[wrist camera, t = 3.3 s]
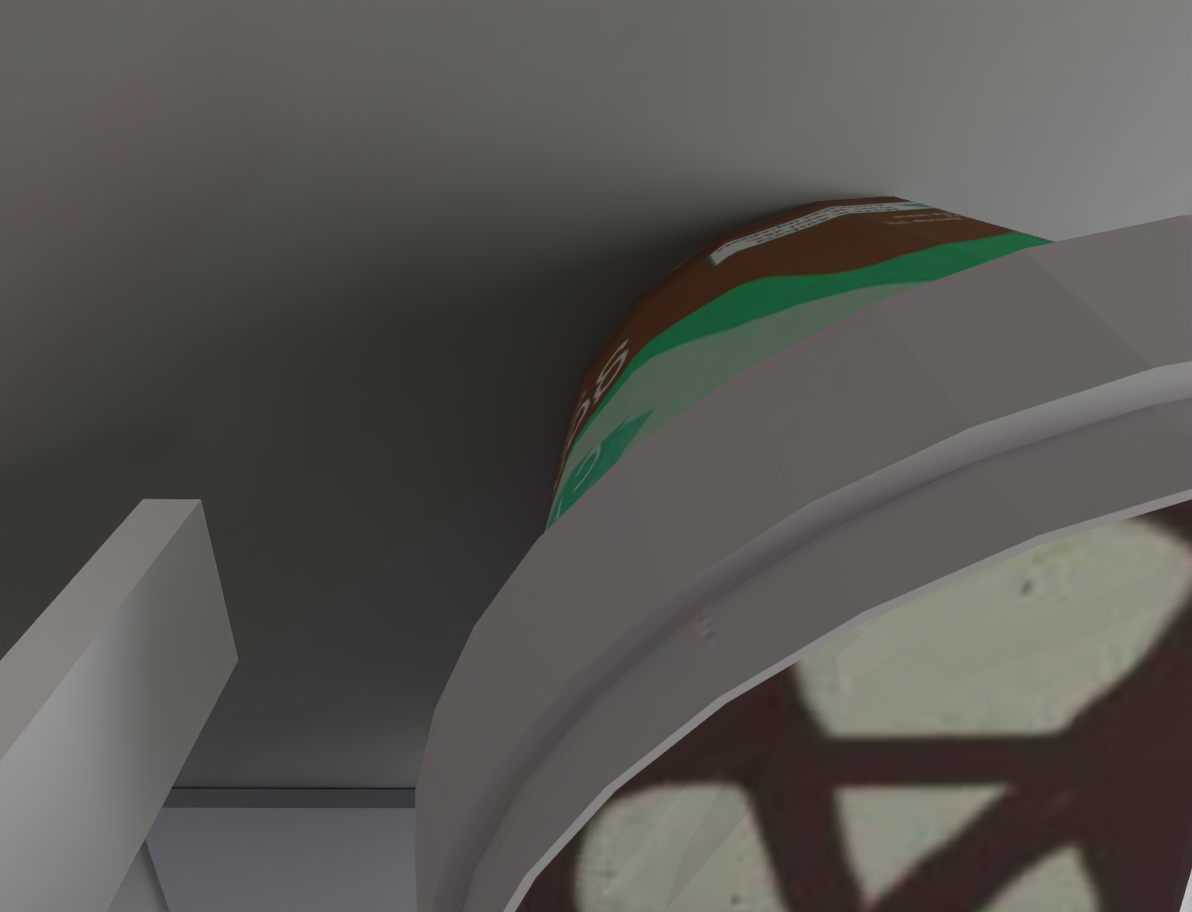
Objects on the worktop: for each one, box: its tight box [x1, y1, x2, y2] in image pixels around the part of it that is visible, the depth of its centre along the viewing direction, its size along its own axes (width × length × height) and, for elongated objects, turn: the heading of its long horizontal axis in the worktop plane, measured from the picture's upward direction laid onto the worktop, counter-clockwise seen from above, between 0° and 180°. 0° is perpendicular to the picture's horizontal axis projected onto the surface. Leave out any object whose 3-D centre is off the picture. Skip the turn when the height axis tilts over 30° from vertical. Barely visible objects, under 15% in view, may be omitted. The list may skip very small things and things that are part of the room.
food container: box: [415, 196, 1192, 912], centre depth 11 cm, size 12×6×10 cm, turn 179°
